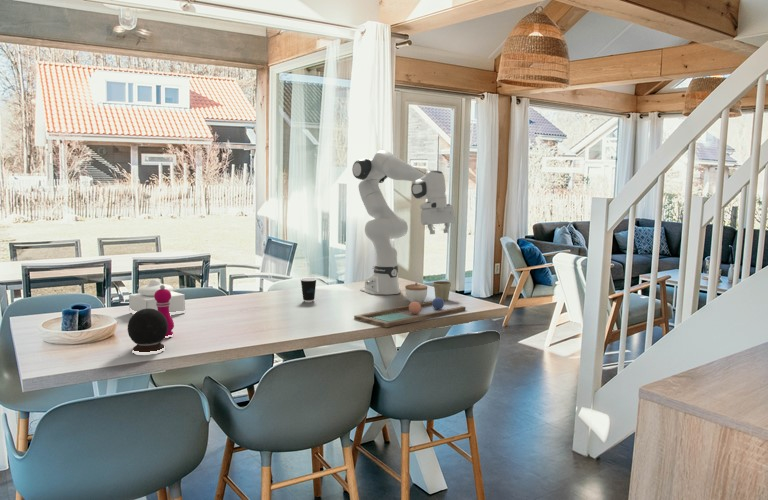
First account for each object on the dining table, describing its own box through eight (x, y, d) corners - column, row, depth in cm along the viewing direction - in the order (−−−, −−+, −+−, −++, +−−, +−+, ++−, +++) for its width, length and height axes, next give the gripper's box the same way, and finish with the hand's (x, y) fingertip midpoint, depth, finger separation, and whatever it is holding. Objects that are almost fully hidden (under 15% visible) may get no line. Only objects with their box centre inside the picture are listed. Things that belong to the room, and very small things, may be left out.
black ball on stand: (140, 358, 212) (138, 314, 210) (121, 351, 220) (119, 309, 219) (176, 350, 221) (174, 308, 220) (157, 344, 230) (155, 303, 228)
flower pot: (451, 298, 317) (451, 281, 316) (451, 301, 308) (451, 284, 307) (432, 297, 318) (432, 280, 317) (432, 301, 308) (432, 284, 307)
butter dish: (167, 308, 294) (165, 274, 292) (185, 314, 281) (184, 278, 279) (129, 313, 282) (128, 278, 280) (147, 320, 269) (145, 283, 267)
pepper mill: (157, 335, 243) (155, 283, 241) (176, 334, 244) (174, 283, 242) (152, 339, 236) (149, 286, 234) (171, 339, 237) (169, 286, 234)
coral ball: (406, 313, 281) (406, 301, 280) (414, 312, 284) (414, 300, 284) (414, 315, 276) (414, 303, 276) (423, 314, 280) (423, 301, 280)
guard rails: (354, 319, 270) (354, 315, 270) (433, 303, 303) (433, 300, 303) (385, 327, 255) (385, 323, 255) (465, 310, 288) (465, 306, 288)
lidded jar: (431, 301, 308) (432, 282, 307) (417, 305, 300) (417, 285, 299) (415, 298, 315) (415, 280, 314) (400, 302, 307) (400, 282, 306)
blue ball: (429, 309, 291) (429, 297, 290) (437, 307, 294) (437, 295, 294) (438, 311, 286) (438, 299, 286) (446, 309, 290) (446, 297, 290)
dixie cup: (306, 299, 314) (306, 277, 313) (320, 300, 311) (319, 278, 309) (297, 302, 307) (297, 279, 306) (311, 303, 303) (310, 280, 302)
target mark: (372, 317, 273) (372, 317, 273) (395, 313, 282) (395, 312, 282) (394, 323, 262) (394, 322, 262) (418, 318, 272) (418, 317, 272)
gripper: (447, 204, 309) (449, 232, 310) (417, 205, 295) (419, 235, 296) (456, 203, 304) (458, 232, 305) (427, 204, 291) (429, 234, 291)
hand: (439, 233), depth 300 cm, fingers open, 8 cm apart
